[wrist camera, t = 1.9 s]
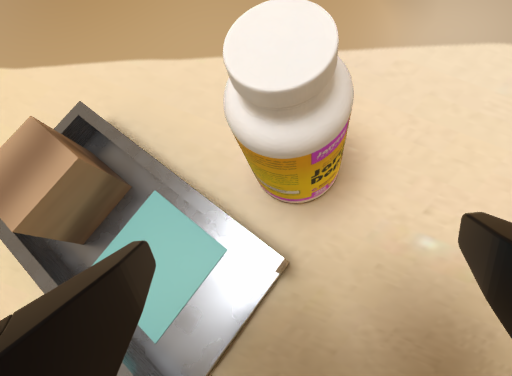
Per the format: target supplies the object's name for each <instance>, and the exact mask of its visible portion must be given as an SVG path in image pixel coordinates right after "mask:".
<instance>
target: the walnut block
mask: <svg viewBox="0 0 512 376" xmlns="http://www.w3.org/2000/svg"><path fill="white" fill-rule="evenodd" d="M131 187H132V186H130V185H129V184H128V183H127V182H126V181H125V180H123V179H122V178H121V177H120V176H119V175H117V174H116V173H115V172H114V171H113V170H112V169H110V168H109V167H108V166H107V165H106V164H105V163H103V162H102V161H101V160H100V159H99V158H98V157H96V156H95V155H94V154H93V153H92V152H90V151H89V150H87V149H86V148H84V147H82V146H81V145H79V144H77V143H76V142H74V141H72V140H71V139H69V138H67V137H65V136H64V135H62V134H60V133H59V132H57V131H55V130H54V129H52V128H50V127H49V126H47V125H45V124H44V123H42V122H40V121H39V120H37V119H35V118H34V117H32V116H30V117H29V118H28V119H27V120H26V121H25V122H24V123H23V124H22V125H21V126H20V128H19V129H18V130H17V131H16V132H15V133H14V134H13V135H12V136H11V137H10V138H9V139H8V140H7V141H6V142H5V143H4V144H3V145H2V147H1V148H0V218H1V220H2V221H3V222H4V223H5V224H6V226H7V227H8V228H9V229H10V230H11V232H14V233H20V234H25V235H31V236H37V237H42V238H48V239H53V240H59V241H65V242H70V243H76V244H82V245H83V244H84V243H85V242H86V240H87V239H88V238H89V237H90V236H91V235H92V233H93V232H94V231H95V230H96V229H97V227H98V226H99V225H100V224H101V223H102V222H103V220H104V219H105V218H106V217H107V216H108V214H109V213H110V212H111V211H112V210H113V209H114V207H115V206H116V205H117V204H118V203H119V202H120V200H121V199H122V198H123V197H124V196H125V194H126V193H127V192H128V191H129V190H130V189H131Z"/></svg>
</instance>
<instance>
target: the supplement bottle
mask: <svg viewBox="0 0 512 376" xmlns="http://www.w3.org/2000/svg"><path fill="white" fill-rule="evenodd" d="M338 42H339V38H338V30H337V26H336V24H335V22H334V20H333V18H332V17H331V16H330V14H329V13H328V12H326V10H324V9H323V8H322V7H320V6H318V5H317V4H315V3H313V2H310V1H307V0H270V1H267V2H264V3H261V4H259V5H257V6H255V7H253V8H251V9H249V10H248V11H247V12H245V13H244V14H243V15H242V16H240V17H239V18H238V19H237V20H236V21H235V23H234V24H233V25H232V27H231V28H230V30H229V32H228V33H227V36H226V38H225V41H224V46H223V59H224V64H225V66H226V69H227V72H228V75H229V78H228V81H227V83H226V87H225V91H224V112H225V116H226V120H227V122H228V125H229V127H230V129H231V131H232V133H233V135H234V136H235V138H236V140H237V142H238V144H239V146H240V148H241V149H242V151H243V153H244V155H245V157H246V159H247V161H248V163H249V165H250V167H251V169H252V171H253V173H254V175H255V176H256V178H257V180H258V182H259V183H260V185H261V187H262V188H263V189H264V190H265V191H266V192H267V193H268V194H269V195H271V196H272V197H274V198H276V199H278V200H281V201H284V202H289V203H303V202H308V201H311V200H314V199H316V198H318V197H320V196H321V195H322V194H324V193H325V192H326V191H327V190H328V189H329V188H330V187H331V186H332V184H333V183H334V181H335V179H336V177H337V175H338V171H339V168H340V163H341V159H342V155H343V149H344V144H345V139H346V134H347V129H348V124H349V120H350V115H351V110H352V105H353V97H354V90H353V83H352V78H351V75H350V73H349V70H348V68H347V67H346V65H345V63H344V62H343V60H342V59H341V58H340V57H339V56H338Z"/></svg>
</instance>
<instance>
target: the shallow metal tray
mask: <svg viewBox="0 0 512 376" xmlns="http://www.w3.org/2000/svg"><path fill="white" fill-rule="evenodd" d="M54 130H55V131H57V132H59V133H60V134H62V135H64V136H65V137H67V138H69V139H71V140H72V141H74V142H76V143H77V144H79V145H81V146H82V147H84V148H86V149H87V150H89V151H90V152H92V153H93V154H94V155H95V156H96V157H98V158H99V159H100V160H101V161H102V162H103V163H105V164H106V165H107V166H108V167H109V168H110V169H112V170H113V171H114V172H115V173H116V174H117V175H119V176H120V177H121V178H122V179H123V180H125V181H126V182H127V183H128V184H129V185H130V186H132V187H131V189H130V190H129V191H128V192H127V193H126V194H125V196H124V197H123V198H122V199H121V200H120V202H119V203H118V204H117V205H116V206H115V207H114V209H113V210H112V211H111V212H110V213H109V214H108V216H107V217H106V218H105V219H104V220H103V222H102V223H101V224H100V225H99V226H98V227H97V229H96V230H95V231H94V232H93V233H92V235H91V236H90V237H89V238H88V239H87V240H86V242H85V243H84V244H83V245H82V244H76V243H70V242H65V241H59V240H53V239H48V238H42V237H37V236H31V235H25V234H20V233H14V232H11V230H10V229H9V228H8V227H7V226H6V224H5V223H4V222H3V221H2V220H1V218H0V239H1V240H2V242H3V243H4V244H5V245H6V247H7V248H8V249H9V250H10V252H11V253H12V254H13V255H14V256H15V258H16V259H17V260H18V261H19V263H20V264H21V265H22V266H23V268H24V269H25V270H26V271H27V273H28V274H29V275H30V276H31V278H32V279H33V280H34V281H35V282H36V284H37V285H38V286H39V287H40V289H41V290H42V291H43V292H44V294H46V293H47V292H49V291H51V290H52V289H54V288H56V287H57V286H59V285H61V284H63V283H64V282H66V281H68V280H69V279H71V278H73V277H74V276H76V275H78V274H79V273H81V272H83V271H84V270H86V269H88V268H89V267H91V266H93V265H94V264H96V263H98V262H99V261H101V260H103V259H104V258H106V257H108V256H109V255H111V254H113V253H114V252H116V251H118V250H119V249H121V248H123V247H124V246H126V245H128V244H129V243H131V242H133V241H142V240H145V241H147V242H148V244H149V246H150V248H151V251H152V253H153V256H154V258H155V261H156V269H155V272H154V276H153V279H152V283H151V286H150V289H149V293H148V296H147V299H146V303H145V306H144V309H143V312H142V315H141V318H140V320H139V323H138V325H137V328H136V330H135V332H134V335H133V337H132V340H131V342H130V345H129V347H128V349H127V352H126V354H125V357H124V359H123V362H122V364H121V367H120V369H119V371H118V374H117V376H208V374H209V373H210V372H211V370H212V369H213V367H214V366H215V365H216V363H217V362H218V361H219V359H220V358H221V356H222V355H223V354H224V352H225V351H226V349H227V348H228V347H229V345H230V344H231V343H232V341H233V340H234V338H235V337H236V336H237V334H238V333H239V331H240V330H241V329H242V327H243V326H244V325H245V323H246V322H247V320H248V319H249V318H250V316H251V315H252V313H253V312H254V311H255V309H256V308H257V307H258V305H259V304H260V302H261V301H262V300H263V298H264V297H265V295H266V294H267V293H268V291H269V290H270V289H271V287H272V286H273V284H274V283H275V282H276V280H277V279H278V278H279V276H280V275H281V273H282V272H283V271H284V269H285V268H286V266H287V265H288V264H289V262H288V261H287V260H286V259H285V258H283V257H282V256H281V255H279V254H278V253H277V252H276V251H274V250H273V249H272V248H270V247H269V246H268V245H266V244H265V243H264V242H263V241H261V240H260V239H259V238H257V237H256V236H255V235H253V234H252V233H251V232H250V231H248V230H247V229H246V228H244V227H243V226H242V225H240V224H239V223H238V222H237V221H235V220H234V219H233V218H231V217H230V216H229V215H227V214H226V213H225V212H224V211H222V210H221V209H220V208H218V207H217V206H216V205H214V204H213V203H212V202H211V201H209V200H208V199H207V198H205V197H204V196H203V195H201V194H200V193H199V192H198V191H196V190H195V189H194V188H192V187H191V186H190V185H188V184H187V183H186V182H185V181H183V180H182V179H181V178H179V177H178V176H177V175H175V174H174V173H173V172H172V171H170V170H169V169H168V168H166V167H165V166H164V165H162V164H161V163H160V162H159V161H157V160H156V159H155V158H153V157H152V156H151V155H149V154H148V153H147V152H146V151H144V150H143V149H142V148H140V147H139V146H138V145H136V144H135V143H134V142H133V141H131V140H130V139H129V138H127V137H126V136H125V135H123V134H122V133H121V132H120V131H118V130H117V129H116V128H114V127H113V126H112V125H111V124H109V123H108V122H107V121H105V120H104V119H103V118H101V117H100V116H99V115H98V114H96V113H95V112H94V111H92V110H91V109H90V108H88V107H87V106H86V105H85V104H83V103H82V102H81V101H79V102H78V103H77V104H76V106H75V107H74V108H73V109H72V110H71V111H70V112H69V113H68V114H67V115H66V116H65V117H64V118H63V120H62V121H61V122H60V123H59V124H58V125H57V126H56V127H55V128H54Z"/></svg>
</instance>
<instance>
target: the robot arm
mask: <svg viewBox="0 0 512 376" xmlns="http://www.w3.org/2000/svg"><path fill="white" fill-rule="evenodd" d="M458 243H459V247H460V249H461V251H462V253H463V255H464V257H465V259H466V261H467V263H468V265H469V267H470V269H471V271H472V273H473V275H474V277H475V279H476V281H477V283H478V285H479V287H480V289H481V291H482V293H483V295H484V296H485V298H486V300H487V301H488V303H489V305H490V306H491V308H492V309H493V311H494V313H495V314H496V316H497V317H498V319H499V320H500V322H501V323H502V325H503V326H504V328H505V329H506V331H507V332H508V334H509V335H510V337H511V338H512V223H511V222H508V221H506V220H503V219H500V218H497V217H495V216H492V215H489V214H486V213H483V212H474V213H465V214H464V215H463V216H462V218H461V224H460V230H459V237H458ZM155 269H156V261H155V258H154V256H153V253H152V251H151V248H150V246H149V244H148V242H147V241H145V240H142V241H133V242H131V243H129V244H128V245H126V246H124V247H123V248H121V249H119V250H118V251H116V252H114V253H113V254H111V255H109V256H108V257H106V258H104V259H103V260H101V261H99V262H98V263H96V264H94V265H93V266H91V267H89V268H88V269H86V270H84V271H83V272H81V273H79V274H78V275H76V276H74V277H73V278H71V279H69V280H68V281H66V282H64V283H63V284H61V285H59V286H57V287H56V288H54V289H52V290H51V291H49V292H47V293H46V294H44V295H42V296H41V297H39V298H37V299H36V300H34V301H32V302H31V303H29V304H27V305H26V306H24V307H22V308H21V309H19V310H17V311H16V312H14V313H13V315H9V316H7V317H6V318H4V319H2V320H1V321H0V376H117V374H118V371H119V369H120V367H121V364H122V362H123V359H124V357H125V354H126V352H127V349H128V347H129V345H130V342H131V340H132V337H133V335H134V332H135V330H136V328H137V325H138V323H139V320H140V318H141V315H142V312H143V309H144V306H145V303H146V299H147V296H148V293H149V289H150V286H151V283H152V279H153V276H154V272H155Z"/></svg>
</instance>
